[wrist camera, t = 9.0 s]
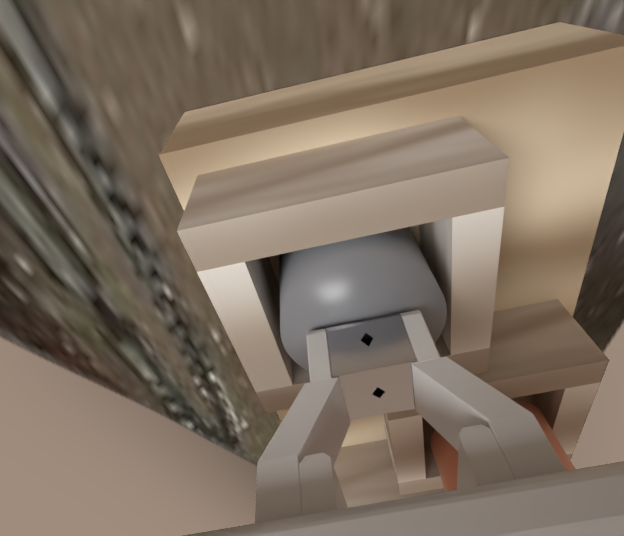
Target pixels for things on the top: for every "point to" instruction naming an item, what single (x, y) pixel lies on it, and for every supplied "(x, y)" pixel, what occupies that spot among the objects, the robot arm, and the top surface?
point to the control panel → (419, 218)
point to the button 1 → (355, 287)
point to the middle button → (449, 455)
